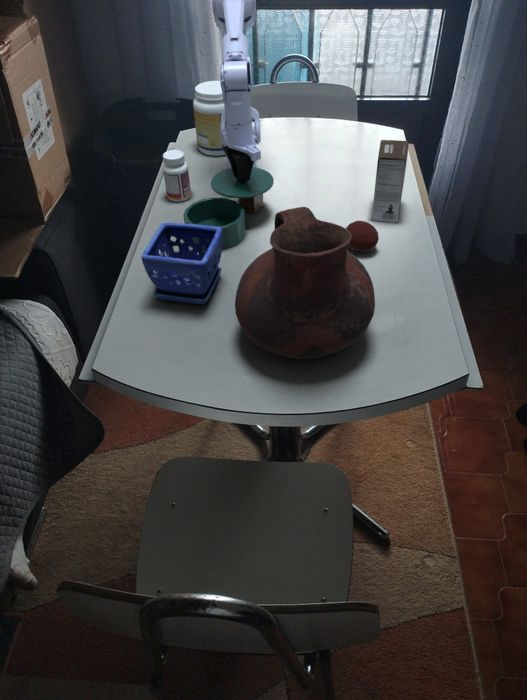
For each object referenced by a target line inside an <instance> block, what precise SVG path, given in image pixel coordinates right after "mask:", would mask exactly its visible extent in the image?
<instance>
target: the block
mask: <svg viewBox="0 0 527 700" xmlns="http://www.w3.org/2000/svg"><path fill="white" fill-rule="evenodd" d="M238 203H239V204H241V205H242V207H243V209H244V211H245V212H249V213H253V214H255V213H257V212H258V210H260V209H261V208H262V207H263V206H264V193H263V194H261V195H259V196H255V197H250V198H238Z"/></svg>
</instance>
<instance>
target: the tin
mask: <svg viewBox="0 0 527 700" xmlns="http://www.w3.org/2000/svg"><path fill="white" fill-rule="evenodd" d="M245 212H246V211H245V210H244V209H243V207H242V205H241V204H239V201H238V202H237V201H236V200H233V199H231V198H228V197H210V198H203V199H200V200H198V201H195V202H193V203H191V204H189V206H187V207H186V208H185V209H184V213H183V224H196V225H206V226H214V227H221V228H222V231H223V245H222V250H225V249H229V248H231V247H234V246H236V245H238V244H239V243H240V242H241V241H243V239H244V238H245V235H246V230H247V229H246V215H245ZM207 240H209V239H207ZM193 241H194V242H196V243H198V242H199V238H198V237H193ZM201 248H202V250H204V251H206V247H205V246H201Z"/></svg>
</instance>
